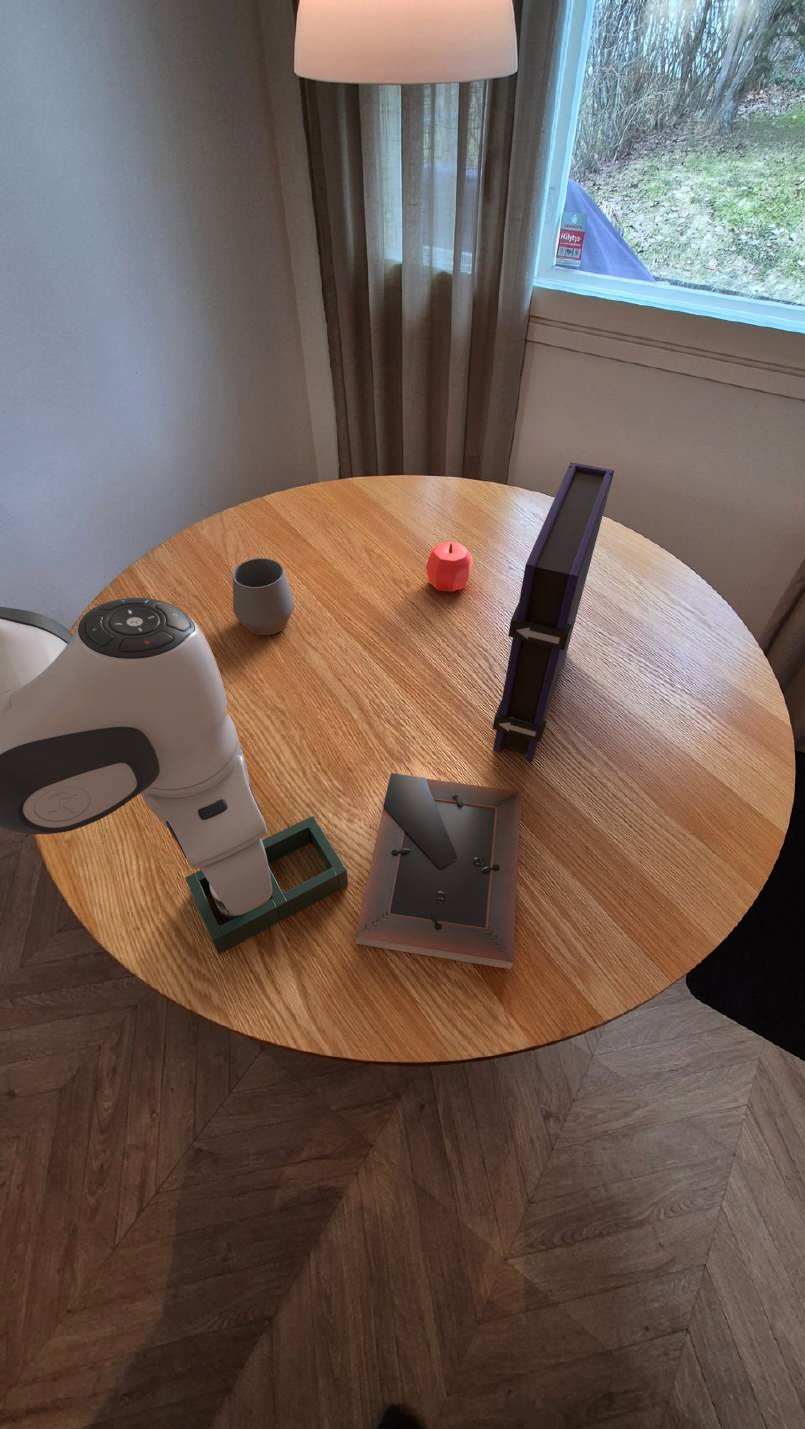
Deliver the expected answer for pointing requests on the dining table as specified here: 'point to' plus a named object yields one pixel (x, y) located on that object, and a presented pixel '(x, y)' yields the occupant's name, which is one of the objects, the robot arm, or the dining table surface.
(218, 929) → the holder
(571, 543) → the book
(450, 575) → the apple
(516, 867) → the picture frame
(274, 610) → the cup
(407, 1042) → the dining table surface
